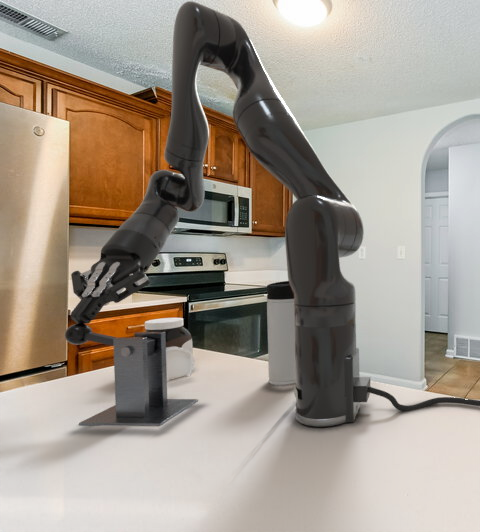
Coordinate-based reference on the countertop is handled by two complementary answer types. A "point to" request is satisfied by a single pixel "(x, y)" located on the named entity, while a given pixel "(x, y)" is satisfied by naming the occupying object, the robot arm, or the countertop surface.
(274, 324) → the travel mug
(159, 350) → the bracket
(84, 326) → the tap lever
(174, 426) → the countertop surface
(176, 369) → the spread jar
